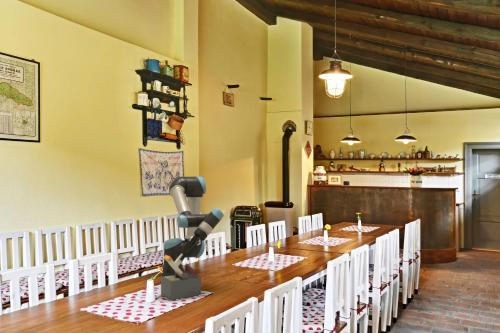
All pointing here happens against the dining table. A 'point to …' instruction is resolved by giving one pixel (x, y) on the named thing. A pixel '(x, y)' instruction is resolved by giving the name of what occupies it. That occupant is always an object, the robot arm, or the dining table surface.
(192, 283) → the box
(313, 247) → the dining table surface
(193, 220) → the robot arm
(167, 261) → the lever
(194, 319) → the dining table surface
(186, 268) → the vegetable
